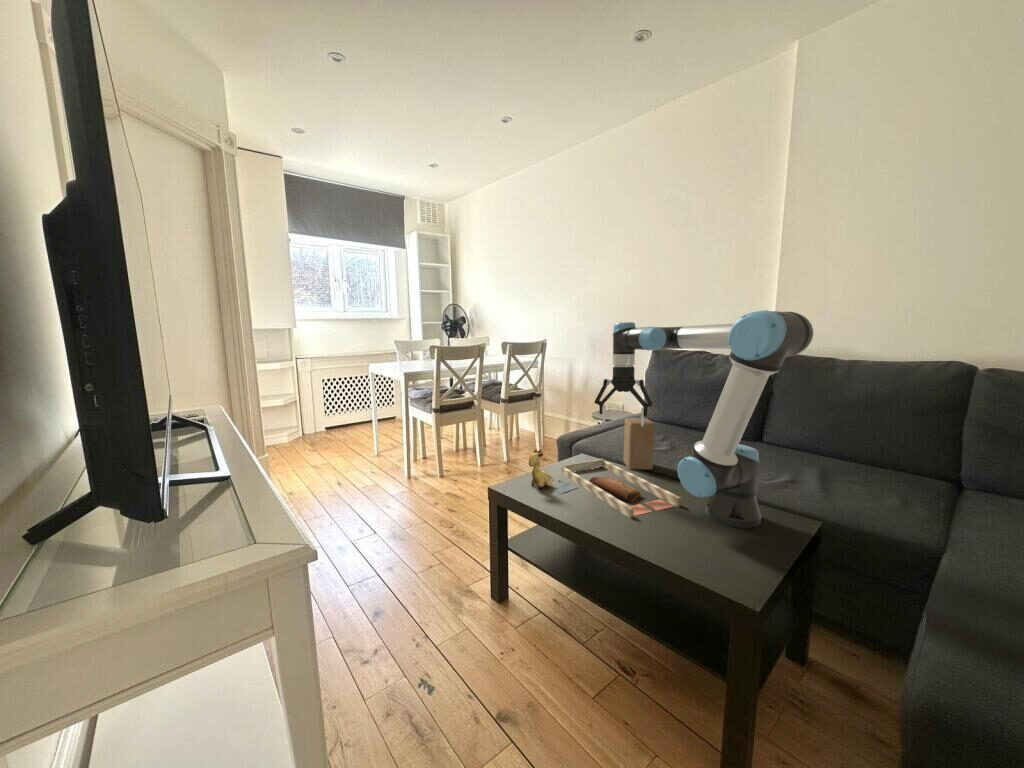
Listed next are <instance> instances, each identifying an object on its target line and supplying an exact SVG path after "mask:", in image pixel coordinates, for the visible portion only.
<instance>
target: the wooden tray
mask: <svg viewBox="0 0 1024 768" xmlns="http://www.w3.org/2000/svg"><path fill="white" fill-rule="evenodd" d="M603 466H604V467H606V468H607V469H609V470H611V471H612V472H614V473H616V474H618V475H619V476H618V475H617V476H618V477H620V476H621V477H620V478H622V477H623V478H625V479H626V481H627V480H628V481H627V482H629V481H630V482H629V483H631V482H632V483H631V484H633V483H634V485H635V484H636V485H635V486H637V487H638V486H639V487H638V488H640V487H641V489H643V490H644V491H646V492H648V493H650V494H652V495H654V496H655V497H657V498H659V499H655V500H652V501H647V502H644V504H645V505H647V506H648V507H650V508H652V509H653V510H655V511H657V512H659V511H662V510H667V509H670V508H674V507H676V508H679V507H681V505H682V497H681V496H679V495H677V494H675V493H672V492H670V491H669V490H666V489H665V488H662V487H660V486H658V485H656V484H654V483H652V482H650V481H648V480H646V479H644V478H642V477H641V476H638V475H636V474H634V473H632V472H629V471H627V470H625V469H623V468H621V467H619V466H617V465H615V464H613V463H611V462H609V461H606V460H604V458H599V459H597V458H596V459H592V460H591V459H590V460H586V461H579V462H575V463H568V464H567V463H566V464H564V467H561V474H562V473H563V474H565V475H566V476H565V475H564V476H565V477H567V478H568V477H569V478H568V479H570V480H571V479H572V480H571V481H572V482H574V481H575V482H574V483H576V484H577V483H578V484H577V485H579V486H580V485H581V486H580V487H582V488H583V489H585V490H586V491H588V492H590V493H591V494H592V495H594V496H595V497H596V498H598V499H600V500H601V501H603V502H605V503H606V504H608V505H609V506H610V507H612V508H614V509H616V510H617V511H618V512H620V513H621V514H623V516H624V515H625V516H626V517H628V518H629V519H630V518H634V517H635V516H639V515H644V514H649V513H652V512H653V511H652V510H651V509H649V508H648V507H646V506H644V505H643V504H641V503H637V504H633V505H629V504H627V503H625V502H624V501H622V500H620V499H619V498H618V497H617V496H615V495H613V494H610V493H608V492H606V491H604V490H602V489H601V488H599V487H597V486H596V485H594V484H592V483H591V482H589V481H590V480H588V479H585V478H584V477H582V476H581V475H579V474H577V472H574V471H579V470H586V469H591V468H596V467H603ZM607 469H606V470H607ZM609 470H608V471H609ZM586 471H587V470H586ZM612 472H611V473H612ZM614 473H613V474H614ZM563 474H562V475H563ZM616 474H615V475H616ZM623 478H622V479H623ZM625 479H624V480H625Z"/></svg>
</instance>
